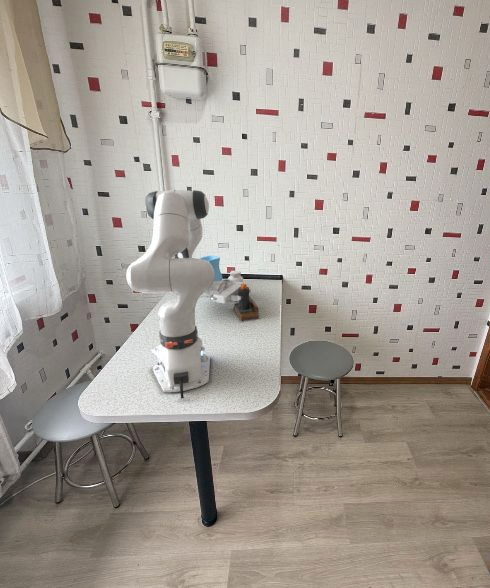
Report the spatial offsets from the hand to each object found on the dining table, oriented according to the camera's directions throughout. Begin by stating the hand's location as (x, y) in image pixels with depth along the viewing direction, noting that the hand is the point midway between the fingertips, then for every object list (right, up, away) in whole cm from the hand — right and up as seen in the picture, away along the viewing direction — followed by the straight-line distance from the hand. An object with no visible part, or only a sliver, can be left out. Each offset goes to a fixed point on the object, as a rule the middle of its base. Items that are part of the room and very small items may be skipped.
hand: (245, 294), depth 155 cm
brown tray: (-1, -9, +4) cm, 10 cm away
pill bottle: (-10, -2, +21) cm, 23 cm away
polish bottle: (-1, -6, +3) cm, 7 cm away
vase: (-24, +1, +26) cm, 36 cm away
